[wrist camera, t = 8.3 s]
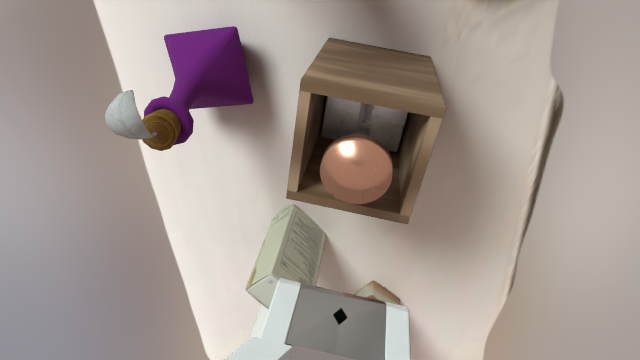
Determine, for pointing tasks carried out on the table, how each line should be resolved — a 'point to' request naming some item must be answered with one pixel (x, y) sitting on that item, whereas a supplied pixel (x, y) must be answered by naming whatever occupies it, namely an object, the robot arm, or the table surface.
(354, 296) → the robot arm
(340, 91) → the wooden box
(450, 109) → the table surface
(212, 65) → the perfume bottle
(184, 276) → the table surface
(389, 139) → the table lamp
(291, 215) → the skincare box
